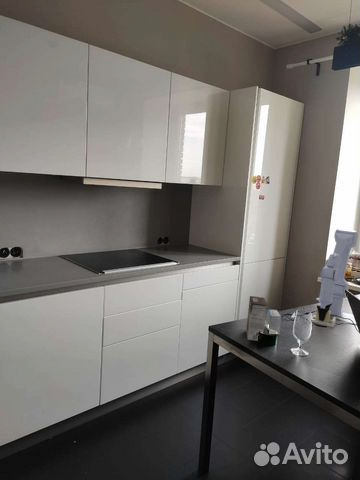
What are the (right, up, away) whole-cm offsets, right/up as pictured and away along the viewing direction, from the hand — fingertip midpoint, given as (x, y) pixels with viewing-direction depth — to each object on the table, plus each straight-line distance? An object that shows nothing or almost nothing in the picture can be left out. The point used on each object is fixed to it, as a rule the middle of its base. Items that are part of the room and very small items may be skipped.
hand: (322, 318), depth 173 cm
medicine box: (-28, -3, -15) cm, 32 cm away
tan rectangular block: (0, -2, 0) cm, 2 cm away
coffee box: (-38, -3, -21) cm, 43 cm away
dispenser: (0, -2, 0) cm, 2 cm away
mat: (-8, 0, +5) cm, 10 cm away
